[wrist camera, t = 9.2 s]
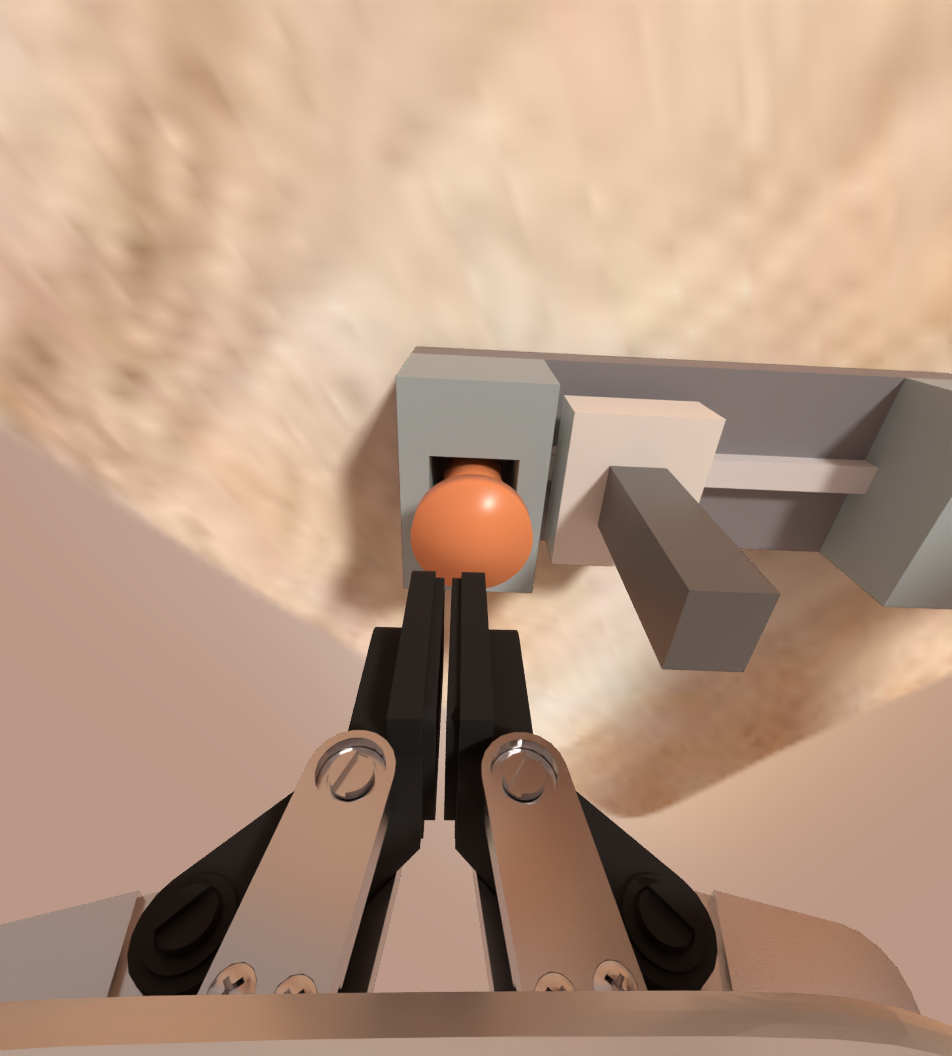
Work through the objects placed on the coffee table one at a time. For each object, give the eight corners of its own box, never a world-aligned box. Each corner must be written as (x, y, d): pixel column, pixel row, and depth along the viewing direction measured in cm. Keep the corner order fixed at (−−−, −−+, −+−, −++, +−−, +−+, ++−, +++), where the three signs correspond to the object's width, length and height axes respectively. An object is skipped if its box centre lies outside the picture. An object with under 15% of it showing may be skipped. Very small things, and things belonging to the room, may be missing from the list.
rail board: (947, 373, 19) (1101, 410, 15) (859, 537, 23) (956, 609, 19) (416, 346, 19) (395, 376, 14) (419, 519, 23) (403, 588, 18)
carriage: (698, 401, 17) (887, 524, 9) (658, 539, 20) (776, 722, 12) (563, 395, 17) (639, 514, 9) (544, 534, 20) (588, 716, 12)
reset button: (524, 430, 17) (539, 488, 13) (515, 515, 19) (526, 592, 15) (426, 425, 17) (408, 482, 13) (426, 512, 19) (411, 587, 15)
